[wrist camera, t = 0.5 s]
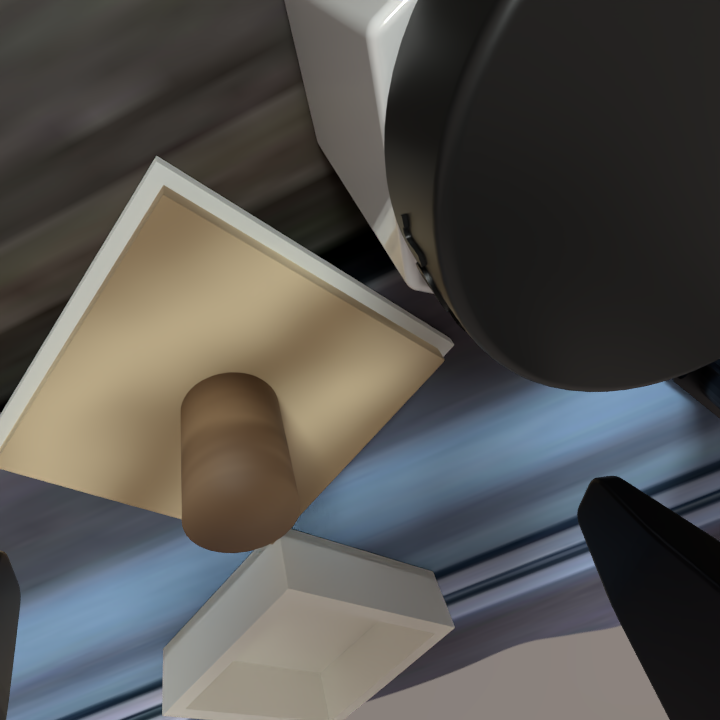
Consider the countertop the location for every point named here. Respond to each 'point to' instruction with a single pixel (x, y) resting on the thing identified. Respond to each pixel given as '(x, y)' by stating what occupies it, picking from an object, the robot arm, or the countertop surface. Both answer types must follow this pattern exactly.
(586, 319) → the jar
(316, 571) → the dish
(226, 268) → the lid
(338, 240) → the countertop surface
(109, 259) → the mat
